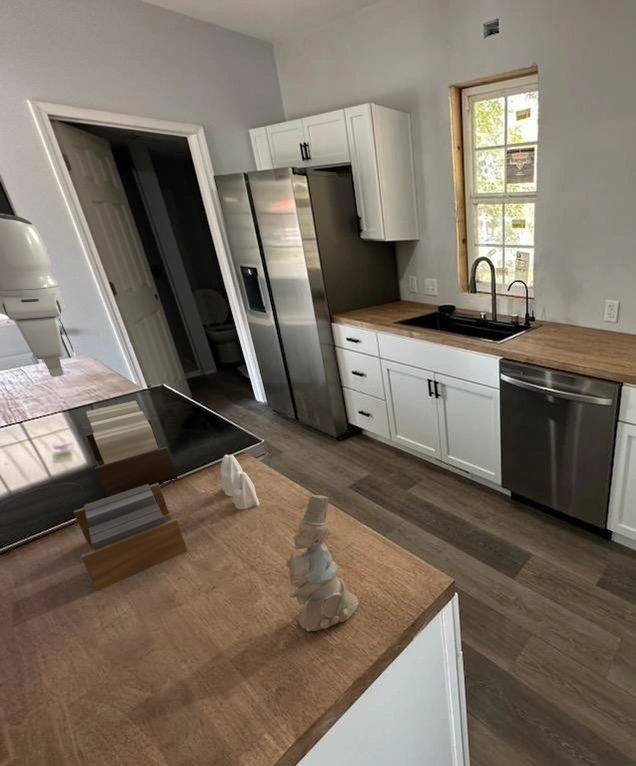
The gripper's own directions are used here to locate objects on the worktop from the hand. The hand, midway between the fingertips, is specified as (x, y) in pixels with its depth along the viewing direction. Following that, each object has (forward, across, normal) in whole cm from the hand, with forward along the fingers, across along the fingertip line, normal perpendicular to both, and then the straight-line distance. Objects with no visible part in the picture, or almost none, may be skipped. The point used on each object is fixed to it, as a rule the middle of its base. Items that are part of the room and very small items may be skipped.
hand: (56, 369), depth 84 cm
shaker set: (+28, +30, +20) cm, 46 cm away
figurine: (+27, +70, +20) cm, 78 cm away
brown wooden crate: (+28, -1, +7) cm, 29 cm away
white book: (+26, -1, +7) cm, 27 cm away
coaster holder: (+28, +33, +3) cm, 43 cm away
